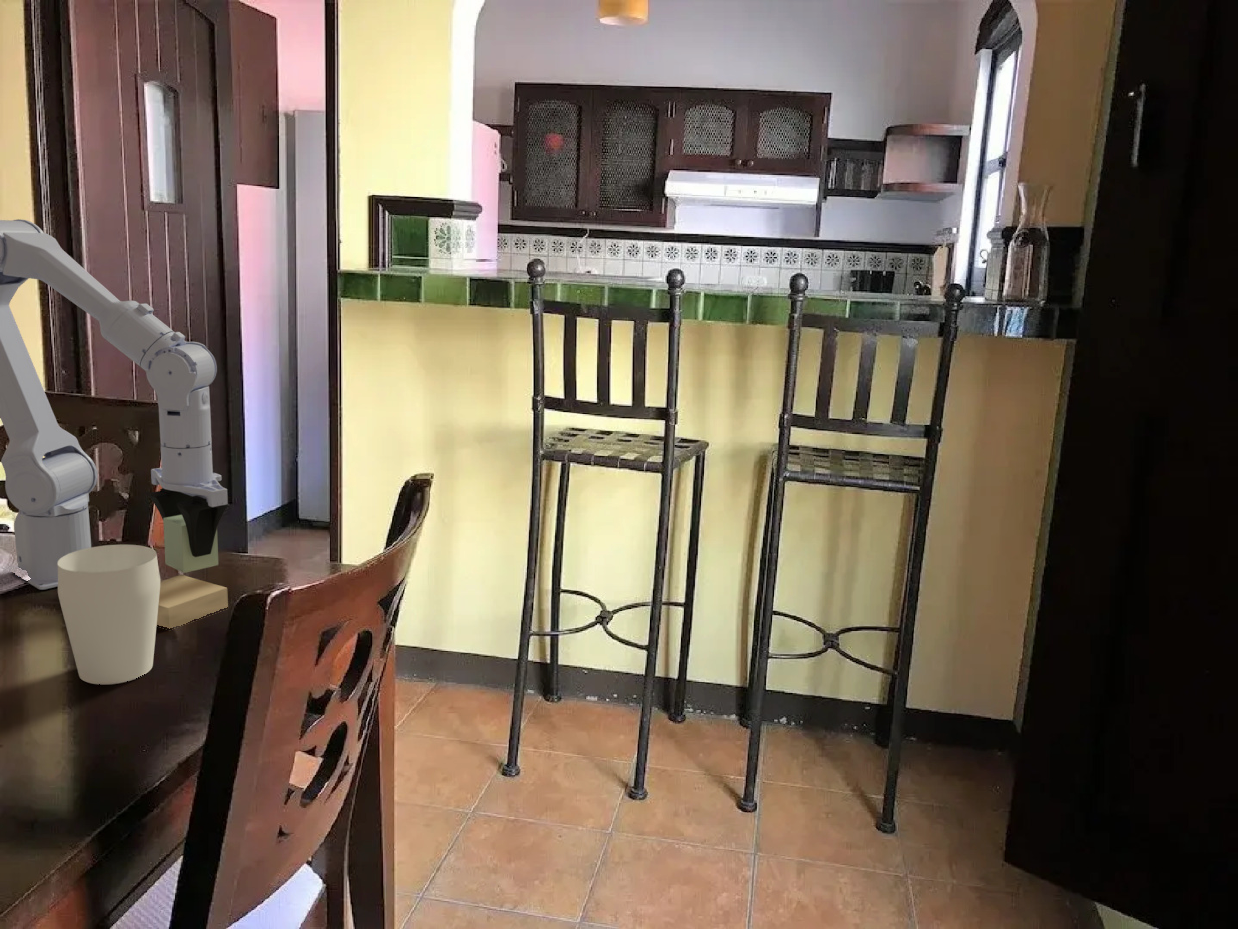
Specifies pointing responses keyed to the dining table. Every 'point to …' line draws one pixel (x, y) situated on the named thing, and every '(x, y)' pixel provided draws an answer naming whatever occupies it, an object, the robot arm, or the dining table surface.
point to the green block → (184, 547)
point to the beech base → (188, 600)
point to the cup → (110, 610)
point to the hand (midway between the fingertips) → (191, 550)
